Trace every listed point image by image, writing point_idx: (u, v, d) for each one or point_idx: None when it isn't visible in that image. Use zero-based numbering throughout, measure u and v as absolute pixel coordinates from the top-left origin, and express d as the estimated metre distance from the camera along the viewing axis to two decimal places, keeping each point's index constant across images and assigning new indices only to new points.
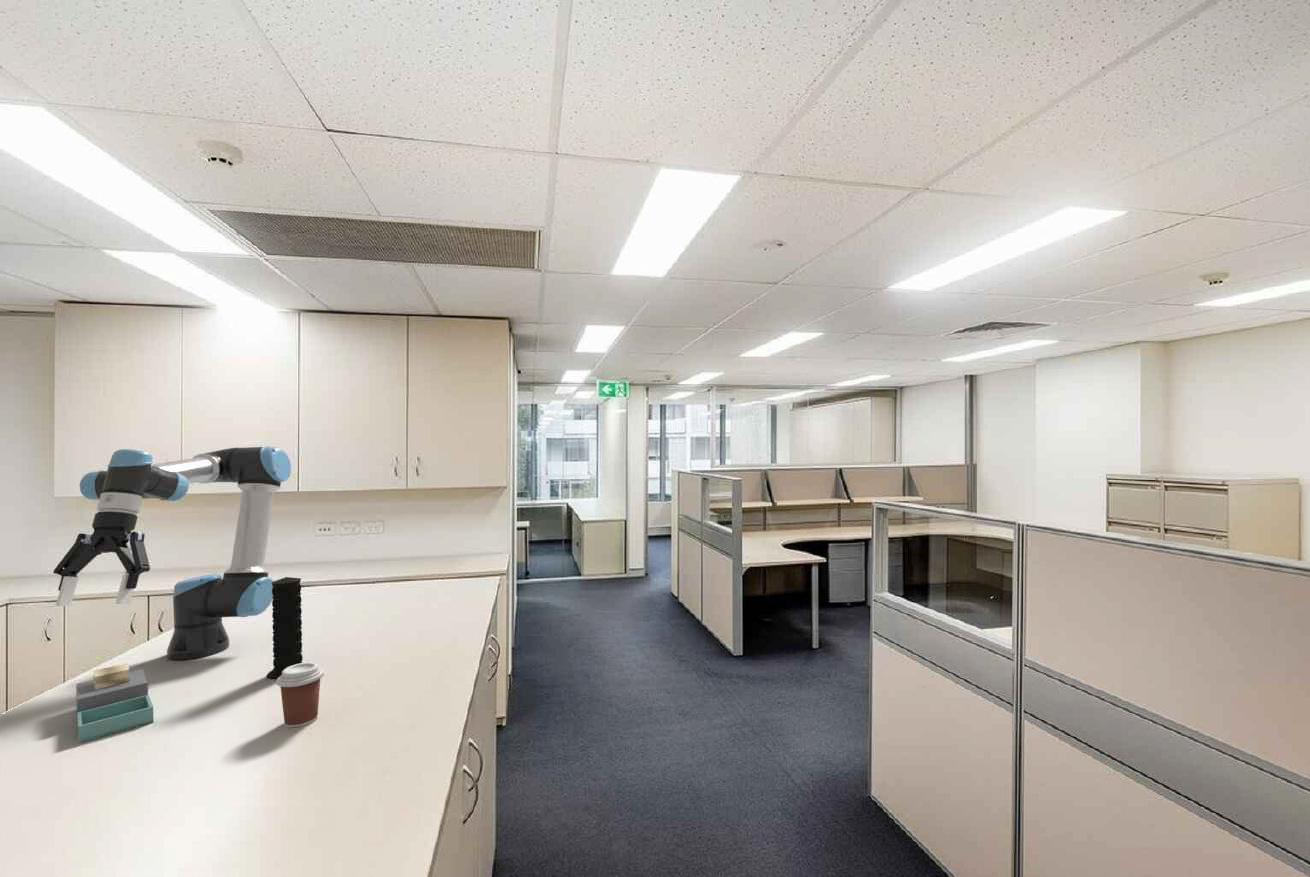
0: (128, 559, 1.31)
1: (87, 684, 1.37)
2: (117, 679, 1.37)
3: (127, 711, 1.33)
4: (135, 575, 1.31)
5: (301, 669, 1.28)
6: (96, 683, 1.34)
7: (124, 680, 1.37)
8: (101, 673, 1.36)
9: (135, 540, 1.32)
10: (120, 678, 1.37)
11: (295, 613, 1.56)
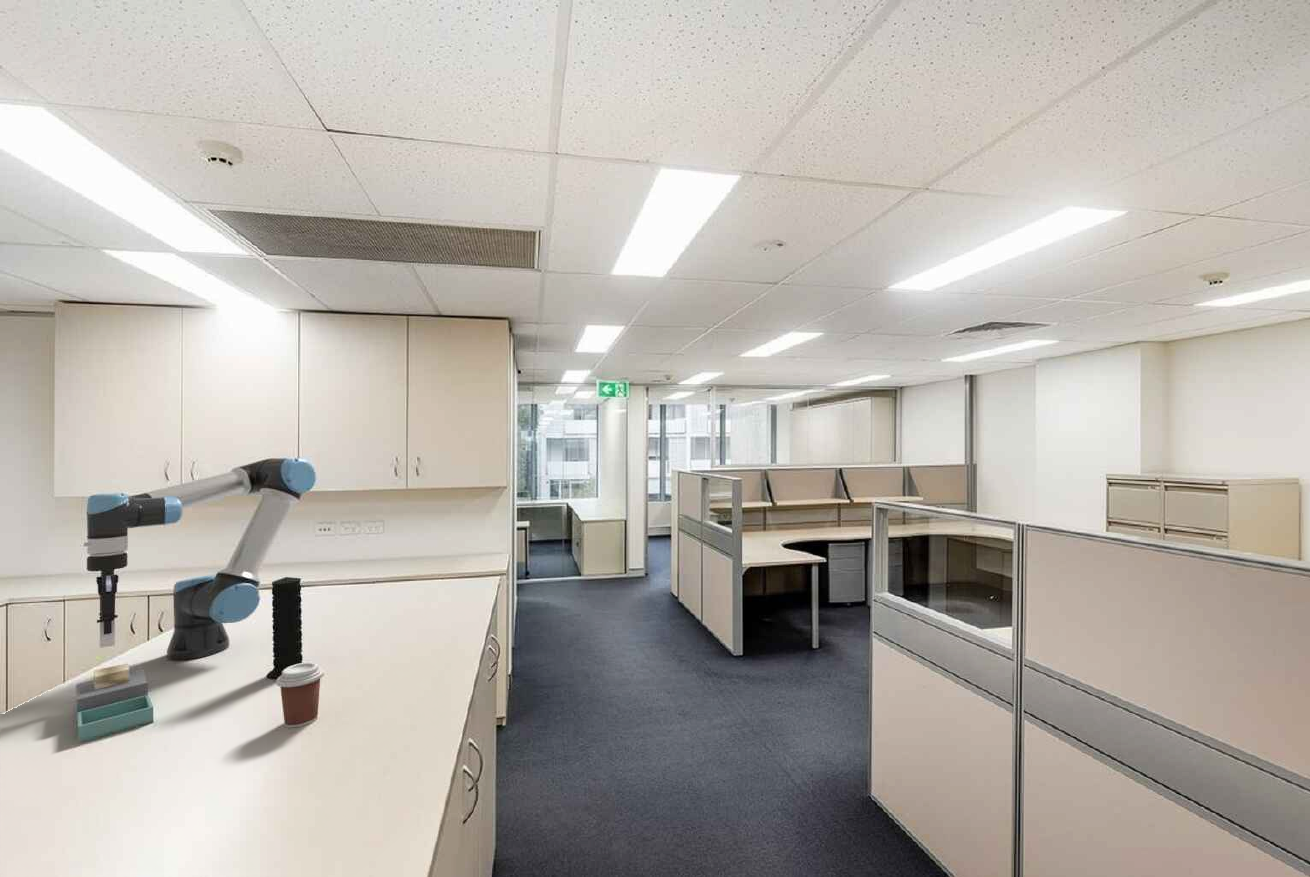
0: None
1: (87, 684, 1.37)
2: (117, 679, 1.37)
3: (127, 711, 1.33)
4: (106, 622, 1.43)
5: (301, 669, 1.28)
6: (96, 683, 1.34)
7: (124, 680, 1.37)
8: (101, 673, 1.36)
9: (103, 593, 1.41)
10: (120, 678, 1.37)
11: (295, 613, 1.56)
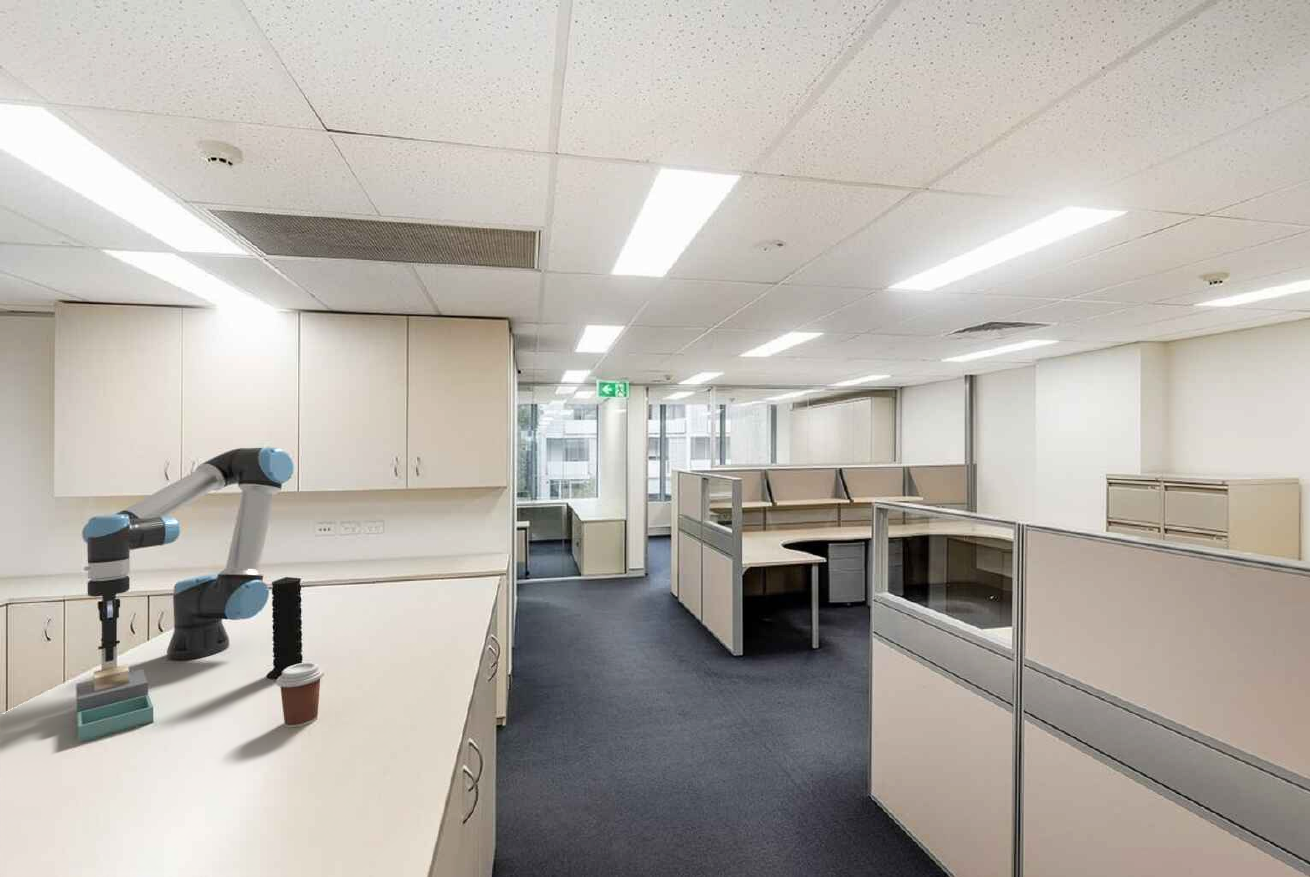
0: None
1: (87, 684, 1.37)
2: (117, 681, 1.36)
3: (127, 711, 1.33)
4: (108, 649, 1.38)
5: (301, 669, 1.28)
6: (96, 684, 1.33)
7: (124, 681, 1.37)
8: (101, 674, 1.35)
9: (104, 619, 1.36)
10: (120, 679, 1.36)
11: (295, 613, 1.56)
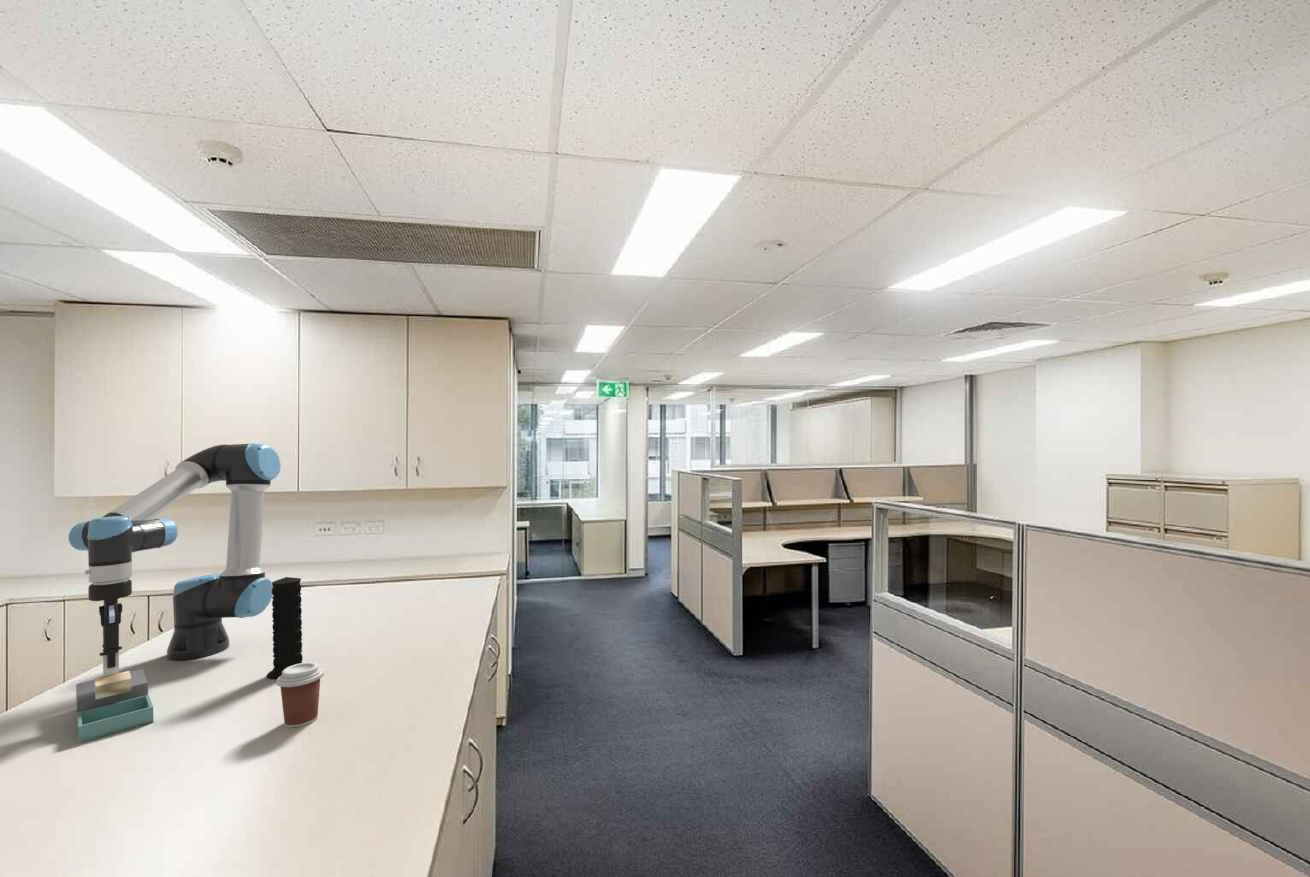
0: None
1: (87, 684, 1.37)
2: (118, 689, 1.31)
3: (127, 711, 1.33)
4: (109, 655, 1.34)
5: (301, 669, 1.28)
6: (97, 693, 1.29)
7: (126, 689, 1.32)
8: (102, 682, 1.31)
9: (106, 625, 1.31)
10: (121, 687, 1.32)
11: (295, 613, 1.56)
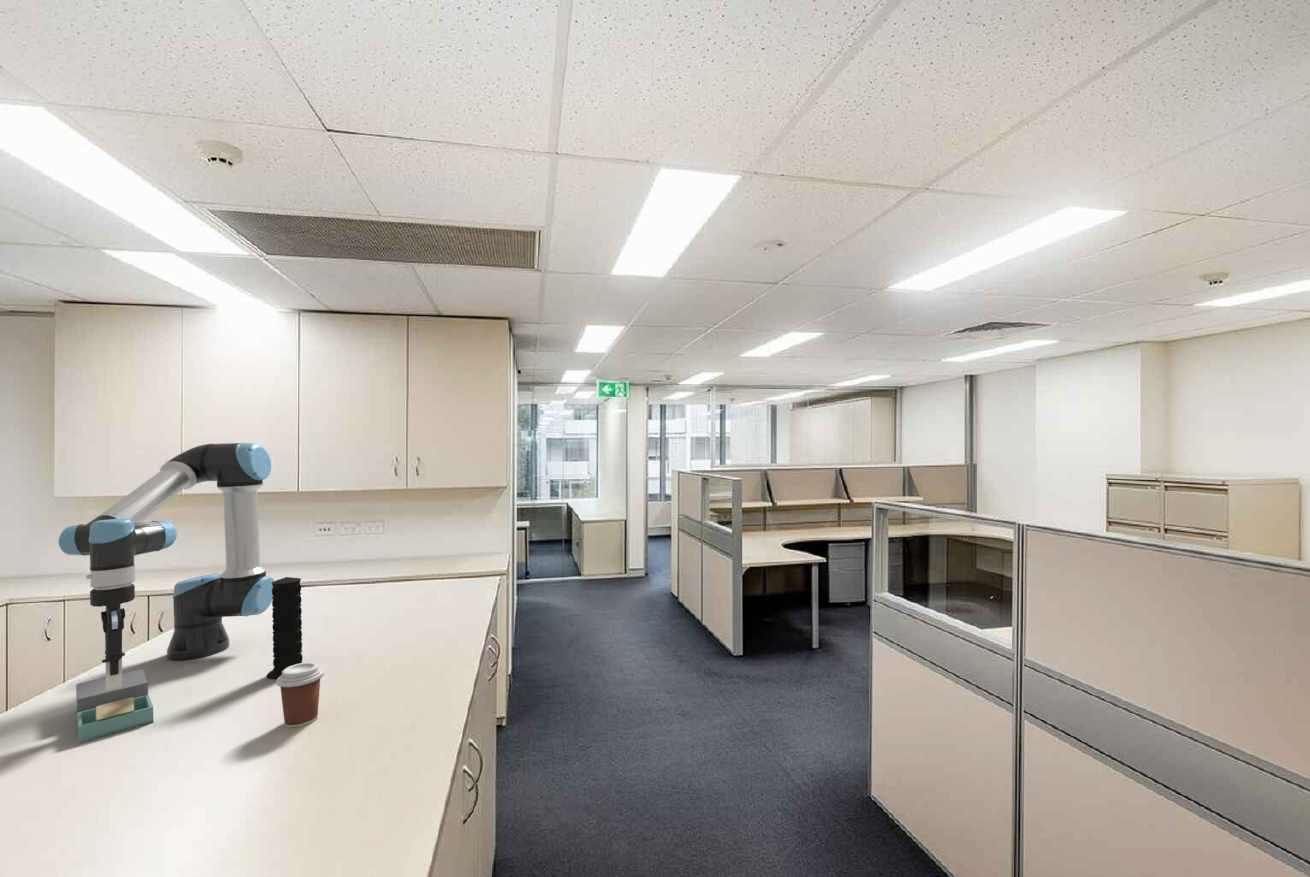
0: None
1: (87, 684, 1.37)
2: None
3: None
4: (112, 662, 1.30)
5: (301, 669, 1.28)
6: None
7: None
8: None
9: (108, 631, 1.27)
10: None
11: (295, 613, 1.56)
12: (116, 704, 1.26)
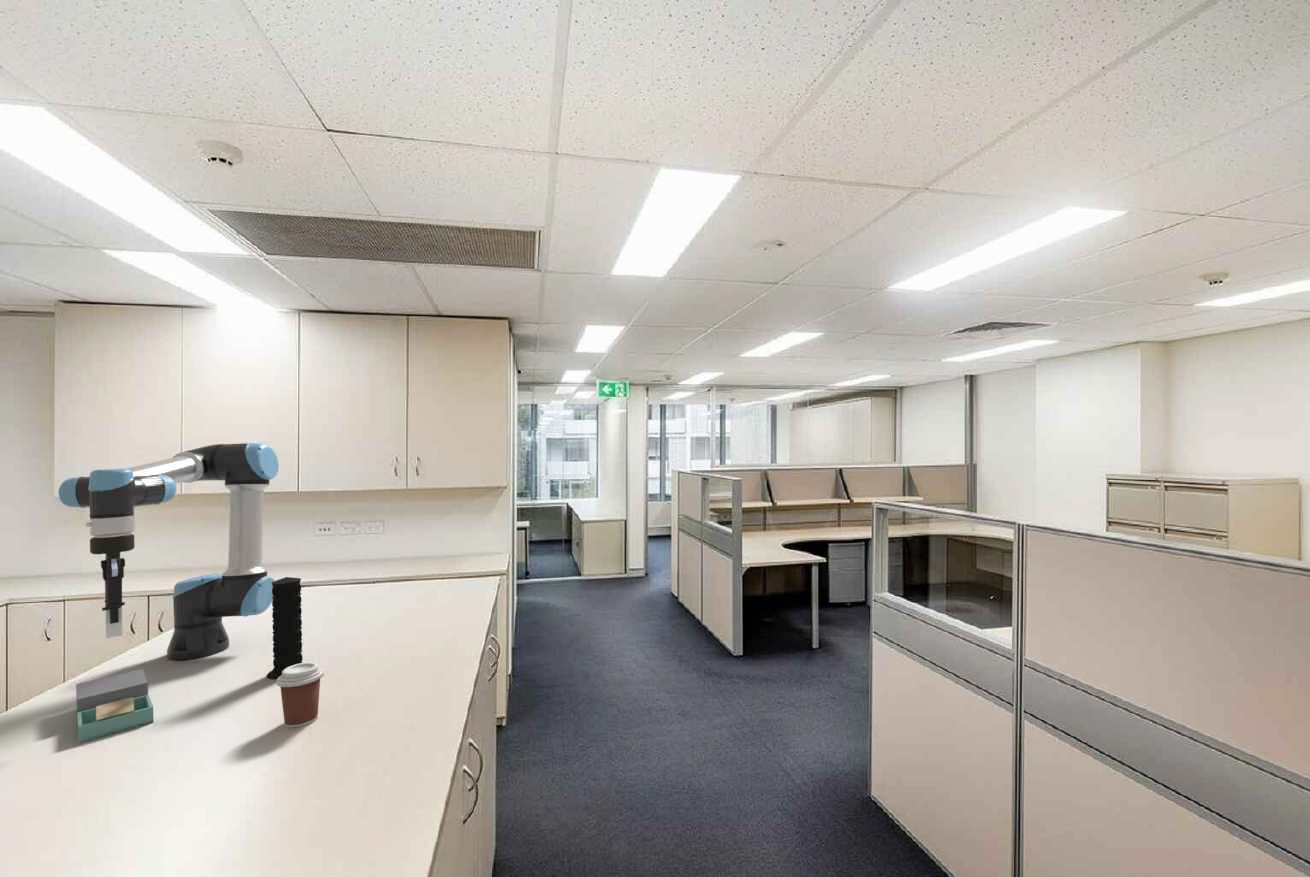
0: None
1: (87, 684, 1.37)
2: None
3: None
4: (112, 610, 1.30)
5: (301, 669, 1.28)
6: None
7: None
8: None
9: (108, 578, 1.27)
10: None
11: (295, 613, 1.56)
12: (116, 704, 1.26)
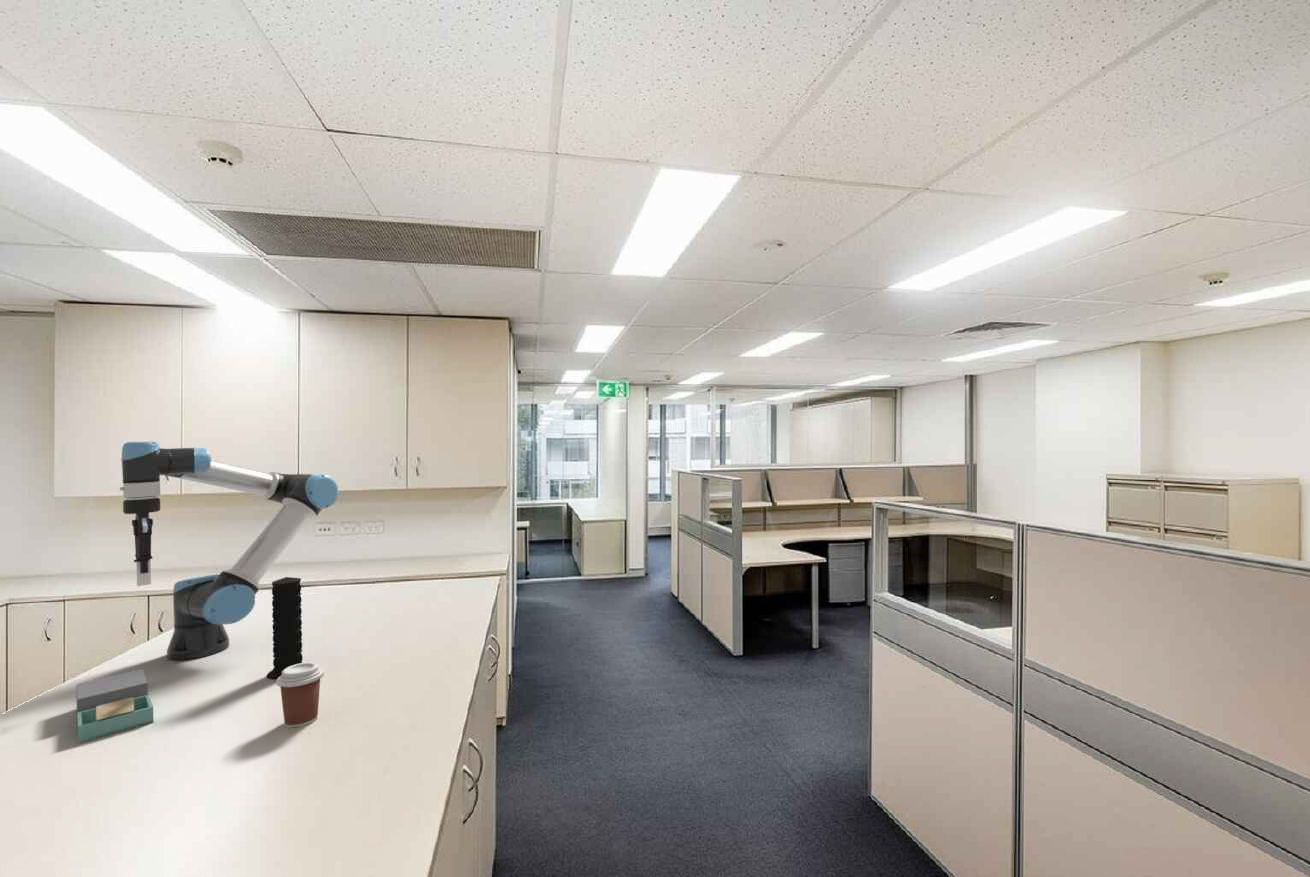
0: None
1: (87, 684, 1.37)
2: None
3: None
4: (143, 562, 1.52)
5: (301, 669, 1.28)
6: None
7: None
8: None
9: (140, 534, 1.49)
10: None
11: (295, 613, 1.56)
12: (116, 704, 1.26)
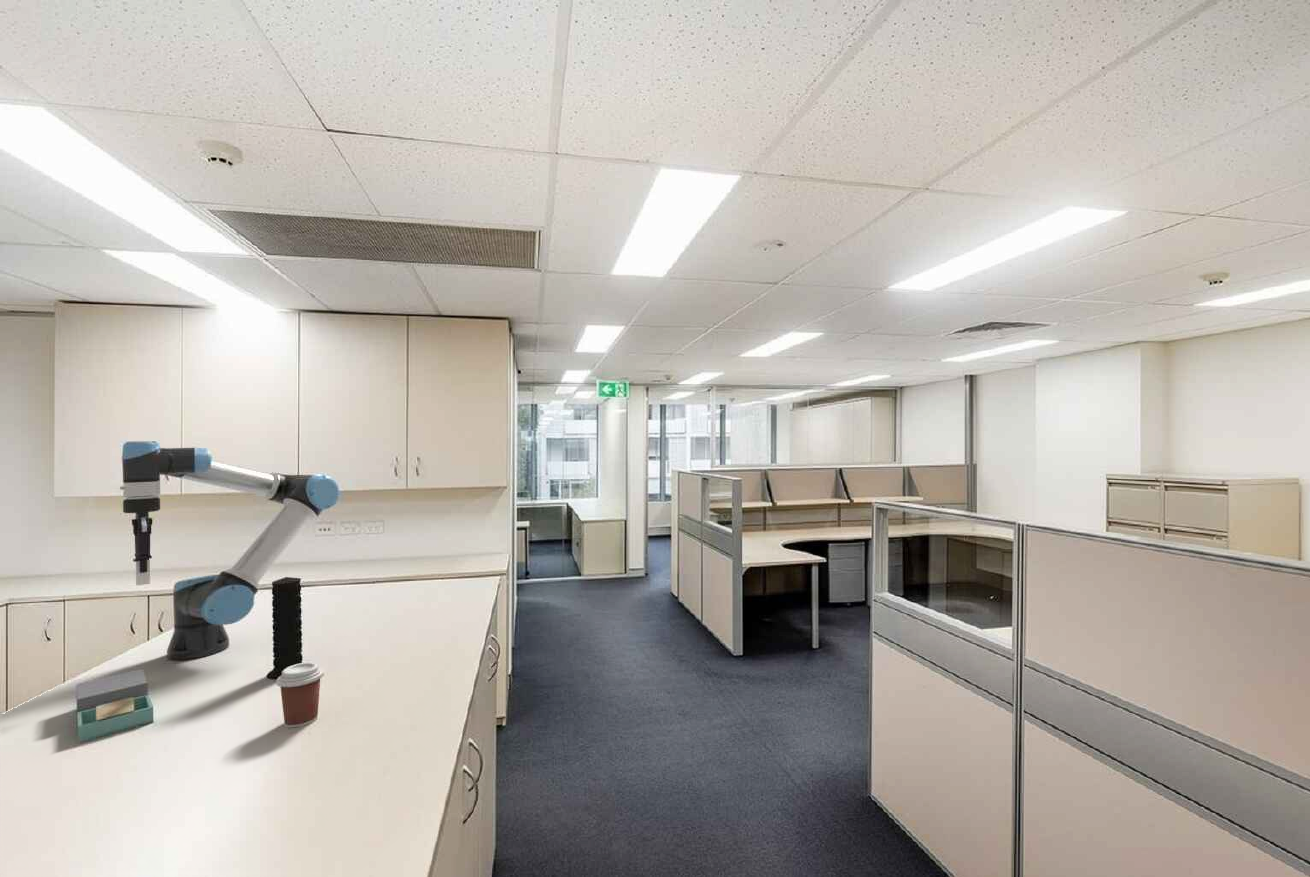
0: None
1: (87, 684, 1.37)
2: None
3: None
4: (142, 562, 1.52)
5: (301, 669, 1.28)
6: None
7: None
8: None
9: (139, 533, 1.50)
10: None
11: (295, 613, 1.56)
12: (116, 704, 1.26)
